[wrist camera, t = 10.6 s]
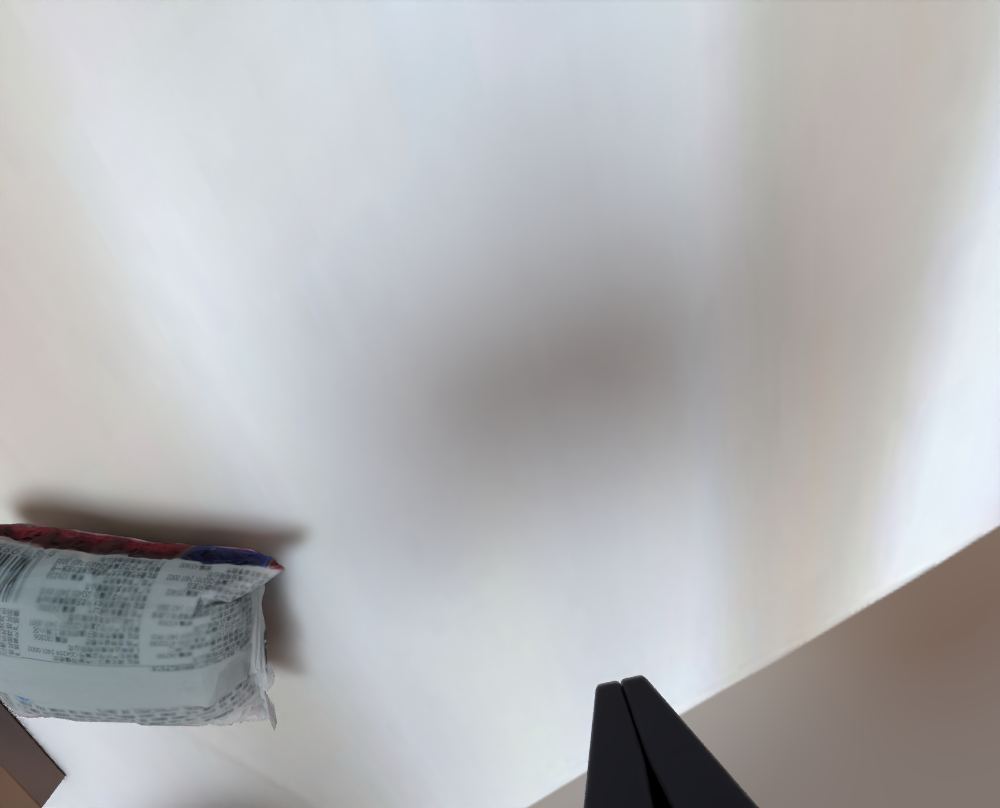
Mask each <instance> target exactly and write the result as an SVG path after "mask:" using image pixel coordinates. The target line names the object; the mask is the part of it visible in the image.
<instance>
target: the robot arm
mask: <svg viewBox="0 0 1000 808" xmlns="http://www.w3.org/2000/svg"><path fill="white" fill-rule="evenodd" d="M584 808H759V807H758V806H757V805H756V804H755V803H754V802H753V801H752V799H751V798H750V797H749V796H748V795H747V794H746V792H744V790H743V789H742V788H741V787H740V786H739V784H738V783H737V782H736V781H735V780H734V779H733V777H732V776H731V775H730V774H729V773H728V772H727V771H726V769H725V768H724V767H723V766H722V765H721V764H720V763H719V761H718V760H717V759H716V758H715V757H714V756H713V754H712V753H711V752H710V751H709V750H708V749H707V748H706V747H705V746H704V744H703V743H702V742H701V741H700V740H699V738H697V736H696V735H695V734H694V733H693V732H692V730H691V729H690V728H689V727H688V726H687V725H686V724H685V723H684V721H683V720H682V719H681V718H680V717H679V715H678V714H677V713H676V712H675V711H674V710H673V709H672V707H671V706H670V705H669V704H668V703H667V702H666V700H665V699H664V698H663V697H662V696H661V695H660V694H659V692H658V691H657V690H656V689H655V688H654V687H653V686H652V684H651V683H650V682H649V681H648V680H647V679H646V678H645V677H644V676H641V675H638V676H634V677H630V678H625V679H622V681H621V684H620V683H619V682H618V681H612V682H607V683H603V684H599V685H598V686H597V688H596V692H595V702H594V712H593V721H592V731H591V741H590V751H589V761H588V771H587V781H586V790H585V800H584Z"/></svg>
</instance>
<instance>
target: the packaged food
mask: <svg viewBox="0 0 1000 808" xmlns="http://www.w3.org/2000/svg"><path fill="white" fill-rule="evenodd" d="M285 570H286V569H285V568H284V567H283V566H281V565H279V564H278V563H277V562H276V560H275V559H273V558H272V557H268V556H264V555H262V554H260V553H258V552H256V551H254V550H252V549H245V548H235V547H223V546H203V545H189V544H180V543H162V542H157V543H154V542H149V541H144V540H140V539H135V538H130V537H121V536H113V535H106V534H97V533H89V532H84V531H79V530H74V529H61V528H52V527H44V526H37V525H33V524H1V525H0V699H1V701H2V702H3V703H4V704H5V705H7V706H9V707H10V708H11V710H12V711H13V712H15V714H17V715H19V716H23V717H44V718H47V717H55V718H62V719H68V720H73V721H86V722H130V723H138V724H140V725H159V726H204V725H208V724H213V725H220V726H223V725H232V724H233V723H234V722H237V723H242V722H243V721H261V720H267V719H270V720H271V723H272V726H273V728H274V731H275V728H276V724H277V721H276V715H275V709H274V705H273V704H272V703H271V702H270V700H269V698H268V696H267V694H266V692H265V690H267V691H268V690H269V688H270V687H271V686H272V684H273V683H274V677H275V676H274V672H273V668H272V664H271V662H270V661H268V663H267V650H266V647H265V646H266V644H267V632H266V628H265V621H264V617H263V612H262V606H261V603H262V598H263V594H264V592H265V586H264V584H265V583H267V582H268V581H270V580H271V579H272V578H273V577H275V576H276V575H278V574H279V573H281V572H283V571H285Z"/></svg>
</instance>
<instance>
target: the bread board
mask: <svg viewBox="0 0 1000 808" xmlns="http://www.w3.org/2000/svg"><path fill="white" fill-rule="evenodd" d="M64 777H65V776H64V775H63V773H62V772H61V771H60V770H59V769H58V768H57V767H56V765H55V764H54V763H53V762H52V761H51V760H50V759H49V757H48V756H47V755H46V754H45V753H44V752H43V751H42V750H41V748H40V747H39V746H38V745H37V744H36V743H35V742H34V740H33V739H32V738H31V737H30V736H29V735H28V734H27V732H26V731H25V730H24V729H23V728H22V727H21V726H20V725H19V723H18V722H17V721H16V720H15V719H14V718H13V717H12V715H11V714H10V713H9V712H8V711H7V710H6V709H5V708H4V706H3V705H2V704H1V703H0V808H42V807H43V805H44V804H45V803H46V801H47V800H48V799H49V797H50V796H51V795H52V793H53V792H54V791H55V789H56V788H57V787H58V785H59V784H60V783H61V781H62V780H63V779H64Z"/></svg>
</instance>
